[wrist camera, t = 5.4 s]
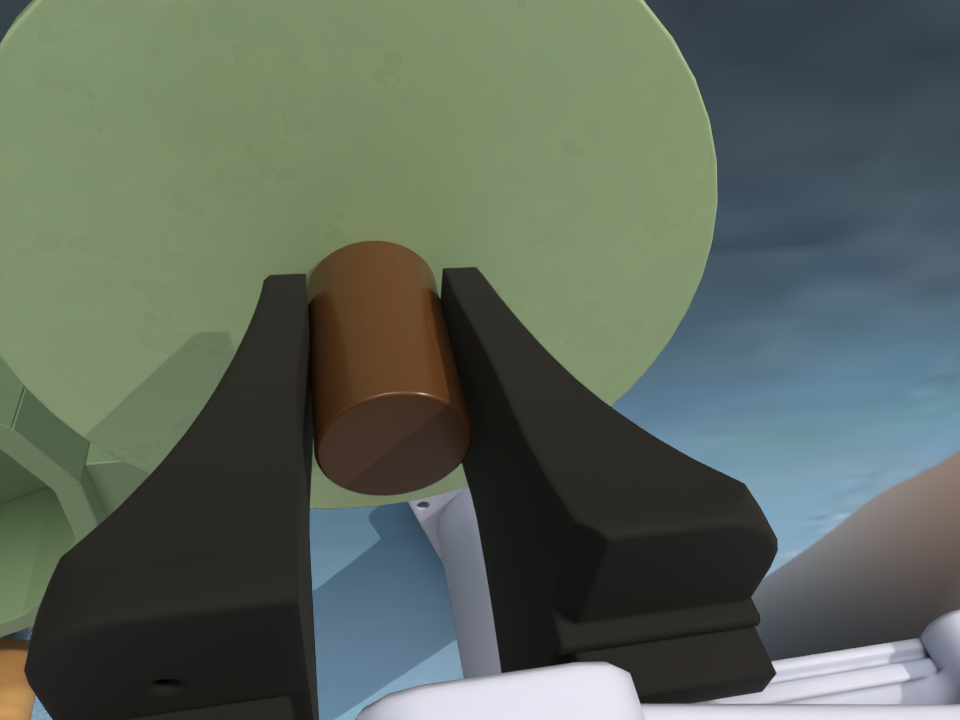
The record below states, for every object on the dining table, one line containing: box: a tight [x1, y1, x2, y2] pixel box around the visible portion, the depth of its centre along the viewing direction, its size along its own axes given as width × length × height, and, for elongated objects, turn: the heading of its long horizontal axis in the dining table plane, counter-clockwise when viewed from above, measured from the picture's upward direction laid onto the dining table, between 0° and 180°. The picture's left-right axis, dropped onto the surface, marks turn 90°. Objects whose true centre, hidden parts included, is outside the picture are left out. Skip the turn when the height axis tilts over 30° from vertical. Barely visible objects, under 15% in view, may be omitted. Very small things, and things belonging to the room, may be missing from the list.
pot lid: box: [0, 0, 717, 509], centre depth 13 cm, size 13×13×5 cm
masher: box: [0, 626, 36, 720], centre depth 30 cm, size 5×4×6 cm
